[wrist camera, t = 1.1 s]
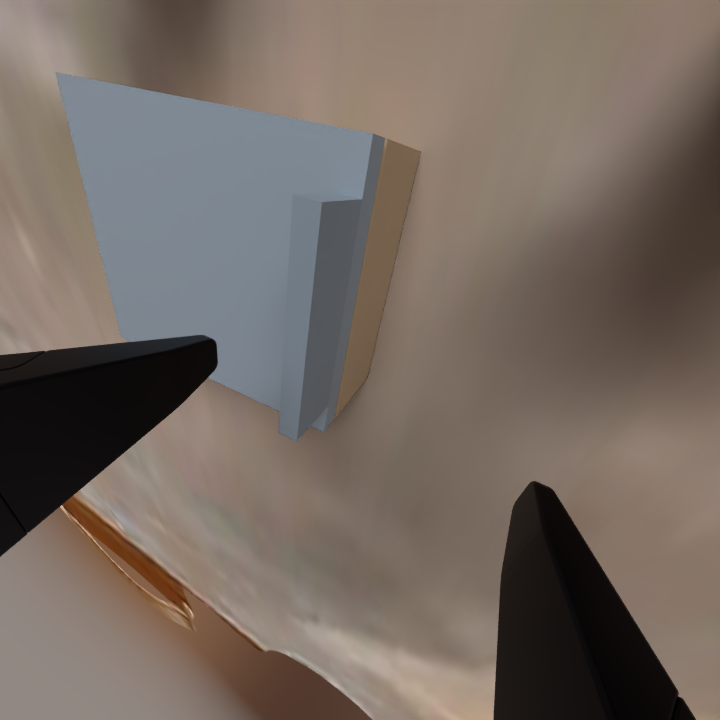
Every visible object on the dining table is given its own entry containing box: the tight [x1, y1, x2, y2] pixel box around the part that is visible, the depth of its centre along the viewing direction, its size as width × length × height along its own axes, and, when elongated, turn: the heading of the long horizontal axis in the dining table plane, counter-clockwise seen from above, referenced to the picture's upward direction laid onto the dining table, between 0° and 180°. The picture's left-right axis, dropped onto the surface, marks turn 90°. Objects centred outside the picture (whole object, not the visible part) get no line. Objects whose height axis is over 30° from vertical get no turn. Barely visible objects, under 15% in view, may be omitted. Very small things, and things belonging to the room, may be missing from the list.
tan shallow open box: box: [334, 139, 421, 417], centre depth 20 cm, size 16×14×5 cm
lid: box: [56, 73, 385, 441], centre depth 16 cm, size 16×14×4 cm
